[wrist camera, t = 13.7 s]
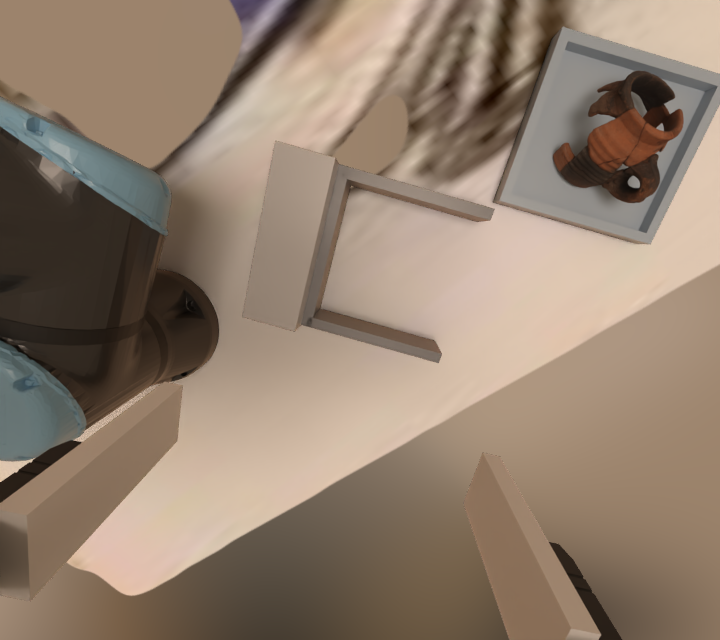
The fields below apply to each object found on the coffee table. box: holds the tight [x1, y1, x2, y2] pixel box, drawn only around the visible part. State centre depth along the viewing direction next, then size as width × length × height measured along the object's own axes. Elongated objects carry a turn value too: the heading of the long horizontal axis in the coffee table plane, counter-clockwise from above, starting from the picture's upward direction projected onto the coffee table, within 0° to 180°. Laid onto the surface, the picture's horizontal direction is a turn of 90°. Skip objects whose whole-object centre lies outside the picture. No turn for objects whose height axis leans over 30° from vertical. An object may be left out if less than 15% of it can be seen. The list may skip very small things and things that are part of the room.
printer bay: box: [242, 141, 495, 363], centre depth 39 cm, size 23×18×8 cm
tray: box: [493, 27, 720, 244], centre depth 37 cm, size 18×17×2 cm
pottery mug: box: [553, 71, 684, 203], centre depth 35 cm, size 12×10×8 cm
